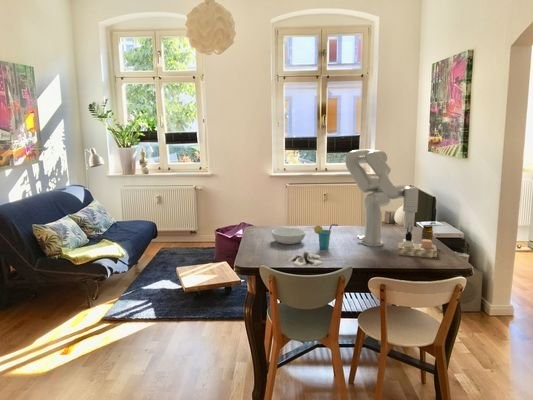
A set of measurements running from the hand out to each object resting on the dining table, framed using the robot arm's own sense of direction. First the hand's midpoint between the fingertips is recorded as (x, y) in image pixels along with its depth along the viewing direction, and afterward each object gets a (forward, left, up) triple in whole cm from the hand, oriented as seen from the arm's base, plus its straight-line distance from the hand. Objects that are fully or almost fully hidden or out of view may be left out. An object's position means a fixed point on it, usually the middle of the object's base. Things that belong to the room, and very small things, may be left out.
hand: (408, 240), depth 239 cm
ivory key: (0, 0, -6) cm, 6 cm away
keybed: (+5, 0, -7) cm, 9 cm away
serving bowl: (-70, +2, -8) cm, 71 cm away
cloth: (-54, -31, -8) cm, 63 cm away
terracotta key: (+10, 0, -6) cm, 11 cm away
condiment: (+11, +19, -7) cm, 23 cm away
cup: (-46, -6, -7) cm, 47 cm away
